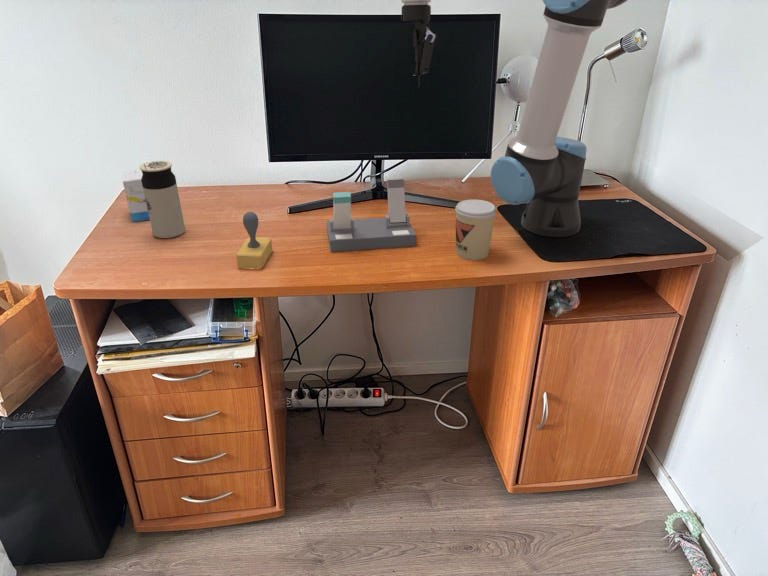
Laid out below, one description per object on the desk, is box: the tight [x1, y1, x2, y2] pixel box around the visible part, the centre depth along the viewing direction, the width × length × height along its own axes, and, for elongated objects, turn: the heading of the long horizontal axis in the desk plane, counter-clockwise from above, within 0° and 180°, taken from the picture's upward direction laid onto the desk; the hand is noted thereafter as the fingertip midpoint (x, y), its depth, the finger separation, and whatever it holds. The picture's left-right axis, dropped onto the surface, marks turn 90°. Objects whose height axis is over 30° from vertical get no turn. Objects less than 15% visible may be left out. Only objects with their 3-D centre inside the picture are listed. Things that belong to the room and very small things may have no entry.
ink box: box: [122, 169, 150, 223], centre depth 154 cm, size 8×8×12 cm
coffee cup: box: [454, 199, 497, 261], centre depth 133 cm, size 9×9×12 cm
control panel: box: [326, 213, 417, 253], centre depth 141 cm, size 12×21×6 cm, turn 99°
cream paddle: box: [332, 191, 352, 228], centre depth 136 cm, size 2×4×11 cm, turn 100°
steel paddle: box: [386, 178, 407, 224], centre depth 141 cm, size 2×4×11 cm, turn 99°
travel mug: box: [139, 160, 186, 239], centre depth 142 cm, size 8×8×18 cm
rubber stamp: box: [235, 211, 273, 270], centre depth 130 cm, size 10×6×12 cm, turn 176°
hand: (415, 100), depth 154 cm, fingers closed
